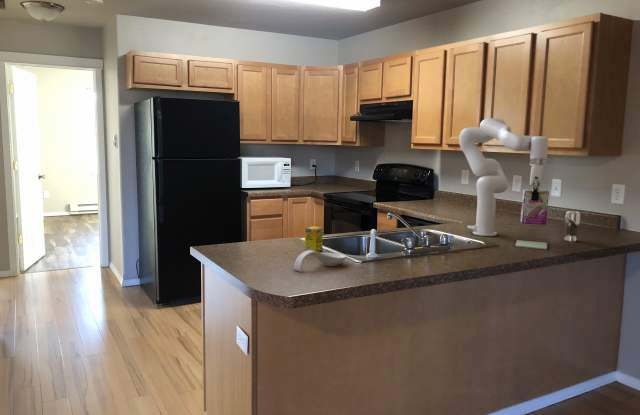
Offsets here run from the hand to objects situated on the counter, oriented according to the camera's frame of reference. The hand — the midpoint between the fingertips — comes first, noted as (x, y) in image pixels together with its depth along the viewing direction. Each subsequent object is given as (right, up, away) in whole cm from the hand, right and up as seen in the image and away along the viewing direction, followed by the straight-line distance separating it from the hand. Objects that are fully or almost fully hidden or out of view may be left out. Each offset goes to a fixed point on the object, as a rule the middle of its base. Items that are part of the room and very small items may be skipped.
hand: (535, 199), depth 247 cm
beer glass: (+25, -21, +16) cm, 37 cm away
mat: (0, -22, +3) cm, 23 cm away
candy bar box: (0, -12, +2) cm, 12 cm away
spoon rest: (-104, -28, -45) cm, 116 cm away
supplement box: (-107, -24, -19) cm, 111 cm away
